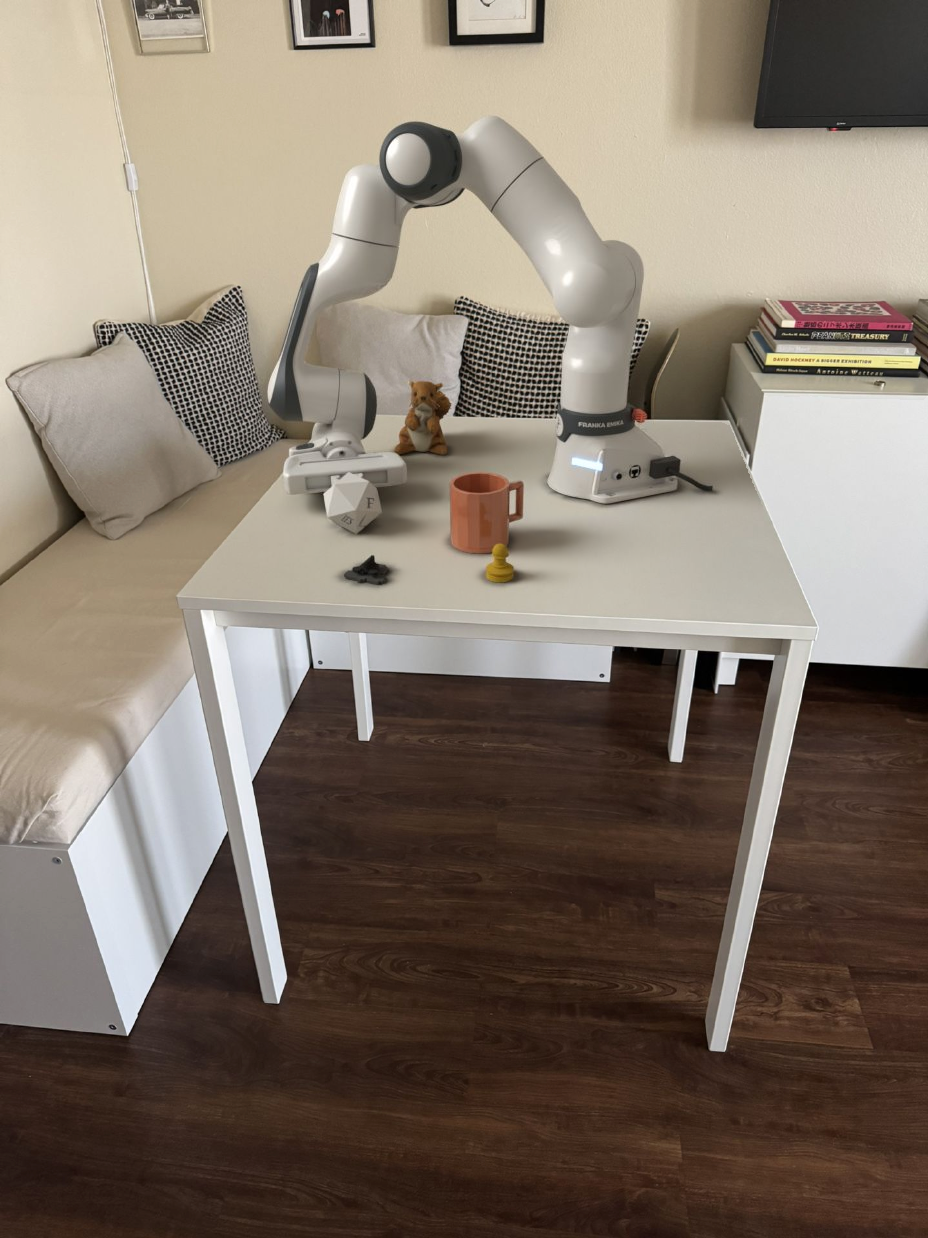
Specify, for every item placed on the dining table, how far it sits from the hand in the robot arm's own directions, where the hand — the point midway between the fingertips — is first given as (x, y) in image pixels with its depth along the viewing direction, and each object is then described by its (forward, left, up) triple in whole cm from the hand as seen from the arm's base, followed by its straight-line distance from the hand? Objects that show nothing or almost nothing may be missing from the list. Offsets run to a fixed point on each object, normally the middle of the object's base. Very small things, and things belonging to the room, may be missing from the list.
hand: (350, 490), depth 142 cm
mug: (-20, +12, -5) cm, 24 cm away
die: (0, +2, -5) cm, 6 cm away
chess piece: (-18, +25, -5) cm, 31 cm away
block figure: (0, +20, -5) cm, 20 cm away
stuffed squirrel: (-18, -32, -5) cm, 37 cm away
